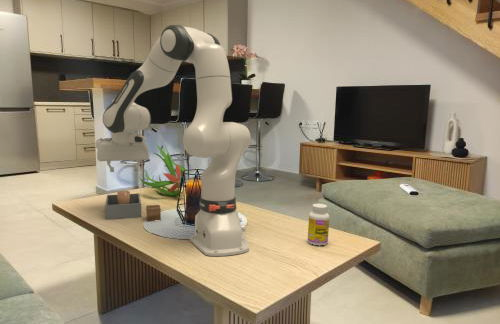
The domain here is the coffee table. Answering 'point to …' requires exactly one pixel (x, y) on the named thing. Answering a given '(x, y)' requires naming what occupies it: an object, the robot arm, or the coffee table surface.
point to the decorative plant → (171, 176)
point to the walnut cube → (153, 212)
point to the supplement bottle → (318, 225)
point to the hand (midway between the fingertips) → (124, 171)
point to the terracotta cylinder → (123, 197)
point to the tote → (123, 207)
